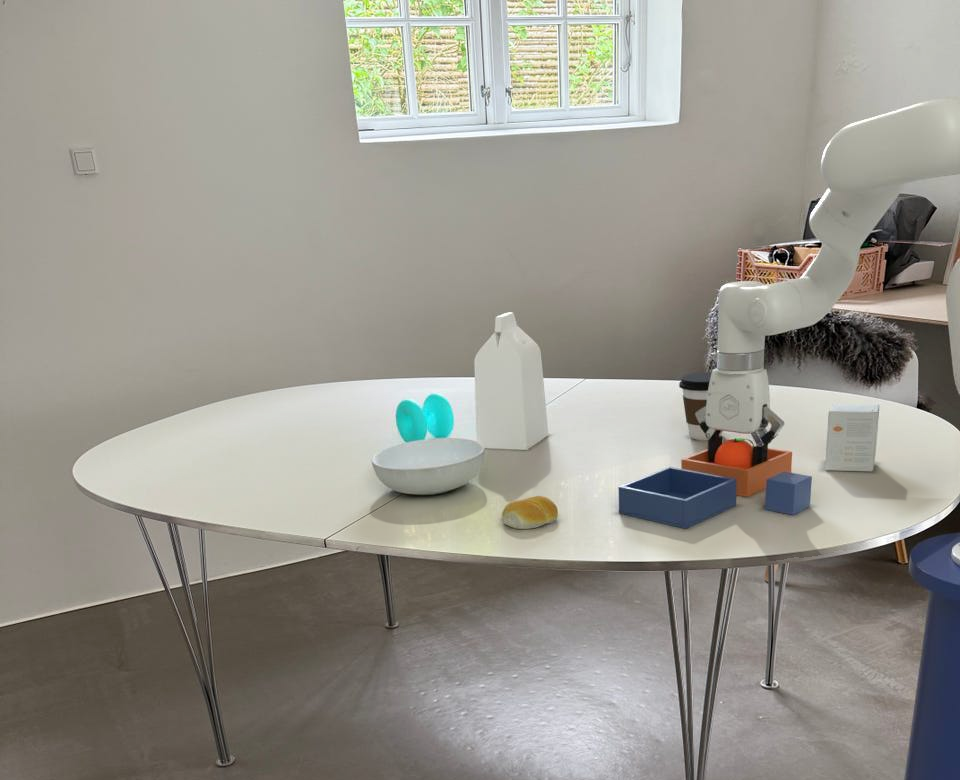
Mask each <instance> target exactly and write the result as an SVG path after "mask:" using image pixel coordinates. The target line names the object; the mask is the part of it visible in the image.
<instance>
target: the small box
mask: <svg viewBox="0 0 960 780" xmlns="http://www.w3.org/2000/svg"><path fill="white" fill-rule="evenodd" d="M879 415H880V404H879V403H872V404H871V403H870V404H869V403H867V404H866V403H865V404H863V403H862V404H861V403H860V404H859V403H855V404H854V403H851V404H850V403H849V404H848V403H835V404H832V405H831V406H830V409H829V411H828V415H827V416H828V417H827V418H828V419H827V431H826V447H825V460H824V461H825V463H824V470H825V471H838V472H841V471H843V472H873V471H874V466H875V462H876V453H877V443H878V431H879V430H878V429H879V419H880V416H879Z"/></svg>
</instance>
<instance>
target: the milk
mask: <svg viewBox="0 0 960 780" xmlns="http://www.w3.org/2000/svg"><path fill="white" fill-rule="evenodd" d="M494 320H495V321H494V332H493V333H492V335H490V337H489V338H488V339H487V340H486V341H485V342H484V344H483V345H482V347H480V349H479V350H478V351H477V353H476V355H475V357H474V362H473V363H474V366H473V367H474V396H475V397H474V398H475V427H476V428H475V432H476V433H475V435H476V441H477V442H479V443H481V444H482V445H483V446H484V448H485V449H494V450H495V449H496V450H516V451H518V450H519V451H528V450H529V449H531V448H532V447H533V446H535V445H537V444H538V443H539V442H541V441H542V440H544V439H546V438H547V437H548V436H549V427H548V417H547V416H548V415H547V404H546V403H547V402H546V394H545V382H544V381H545V380H544V372H543V362H542V361H543V360H542V352H541V348H540V346H539V345H538V343H537V342H535V340H534V339H533V338H532V337H530V335H528V334H527V333H526V332H525V331H524V330H523V329H522V328H521V327H520V326H518V323H517V319H516V316H515V313H514V312H506V313H505V312H504V313H502V314H500V315H497V316H495V318H494Z"/></svg>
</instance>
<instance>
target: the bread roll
mask: <svg viewBox="0 0 960 780" xmlns="http://www.w3.org/2000/svg"><path fill="white" fill-rule="evenodd" d="M558 516H559V511H558V506H557V504H556V503H555V502H553V501H552V500H551V499H550V498H548V497H546V496H542V495H536V496H531V497H526V498H524V499H520V500H519V499H518V500H515V501H511V502H509V503H508V504H506V506H505V507H504V509H503V510H502V512H501V520H502V522H503V524H505V526H509V527H510V528H513V529H517V530H531V529H536V528H540V527H542V526H544V525H546V524H552V523H553V522H555V521H556V520H557V518H558Z"/></svg>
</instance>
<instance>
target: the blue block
mask: <svg viewBox="0 0 960 780" xmlns="http://www.w3.org/2000/svg"><path fill="white" fill-rule="evenodd" d="M812 481H813V476H812V475H808V474H807V475H806V474H801V473H795V472H791V473H789V472H782V473H780V474H777V475H775V476H773V477H771V478H769V479H767V481H766V489H765V502H764V510H766V511H770V512H776V513H781V514H784V515H785V514H786V515H791V516H794V515H796V514H798V513H800V512H802V511H804V510H806V509H808V508H810V507H811V496H812Z"/></svg>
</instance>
